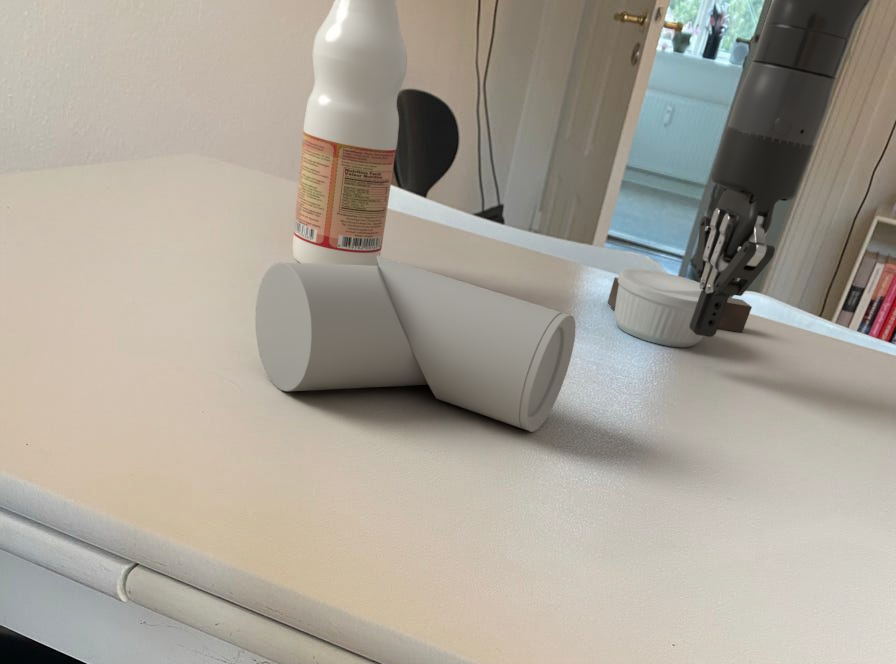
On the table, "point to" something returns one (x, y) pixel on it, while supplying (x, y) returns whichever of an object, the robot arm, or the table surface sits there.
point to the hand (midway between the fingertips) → (700, 333)
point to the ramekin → (657, 307)
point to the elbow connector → (412, 337)
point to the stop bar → (730, 319)
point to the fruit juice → (350, 134)
